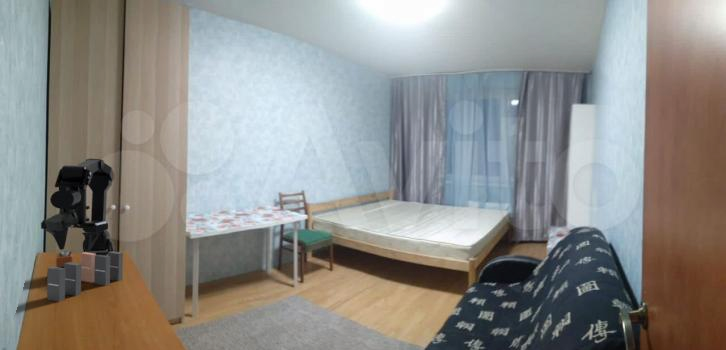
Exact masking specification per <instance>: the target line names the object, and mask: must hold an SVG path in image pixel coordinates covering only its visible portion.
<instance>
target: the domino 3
mask: <svg viewBox="0 0 726 350" xmlns="http://www.w3.org/2000/svg"><path fill="white" fill-rule="evenodd" d="M95 256H96V254H95V253H88V252H80V264H81V282H86V283H94V271H95Z"/></svg>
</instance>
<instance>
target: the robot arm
mask: <svg viewBox="0 0 726 350" xmlns="http://www.w3.org/2000/svg"><path fill="white" fill-rule="evenodd" d="M114 180H115V173H114V170H113V167H111V166H110V165H108V164H106V163H105V161H104V160H103V159H102V158H86V159H85V161H82V162H81V163H78V164H71V165H69V164H67V165H63V166H62V167H61V168H59V171H58V174H57V177H56V181H55V183H54V187H55V188H58V190H57V191H54V192H53V193H52V195H51V196H50V198H49V199H50V203H51V205H52V206H53V207H54V208H56V209H59V212H58V213H57V214H55V215H53V216H50V217H48V218H45V219H43V220H42V221H41V222H40V229H42V230H44V232H47V233H49V234H51V235H52V236H53V238H54V240H55V242H56V244H57V246H58V248H59V250H62V251H63V250H64V249H65V246H66V242H67V237H68V232H69V228H75V229H76V228H77V229H82V230H83V232H82V235H83V236H84V239H83V241H82V251H83V252H82V253H84V252H88V253H95V254H96V255H105V256H108V252H111V251H113V252H115V249H114V244H113V241H112V239H111V235H110V234H111V233H110V232H109V231H108V230H109V223H108V222H107V219H106V215H107V197H108V195H107V194H108V191H109V189H110V188H111V187H112V185H113V181H114ZM87 188H89V189H90V190H91V193H92V194H91V212H90V213H91V215H90V218H89V217H87V211H88V210H90V205H87Z"/></svg>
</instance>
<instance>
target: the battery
mask: <svg viewBox="0 0 726 350" xmlns="http://www.w3.org/2000/svg"><path fill="white" fill-rule="evenodd" d="M55 259H56V260H55V261H56V264H55V265H56V266H55V267H60V268H64V263H68V262H71V263H74V252H73V251H69V250H62V252H58V254H57V256H56V258H55Z"/></svg>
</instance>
